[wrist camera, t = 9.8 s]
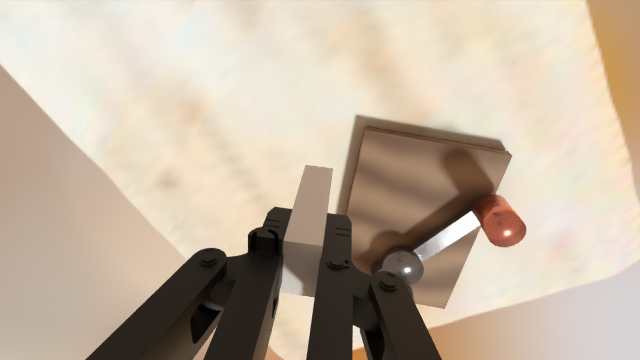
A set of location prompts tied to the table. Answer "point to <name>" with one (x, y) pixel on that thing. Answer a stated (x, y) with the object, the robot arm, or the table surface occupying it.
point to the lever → (455, 237)
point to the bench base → (418, 201)
